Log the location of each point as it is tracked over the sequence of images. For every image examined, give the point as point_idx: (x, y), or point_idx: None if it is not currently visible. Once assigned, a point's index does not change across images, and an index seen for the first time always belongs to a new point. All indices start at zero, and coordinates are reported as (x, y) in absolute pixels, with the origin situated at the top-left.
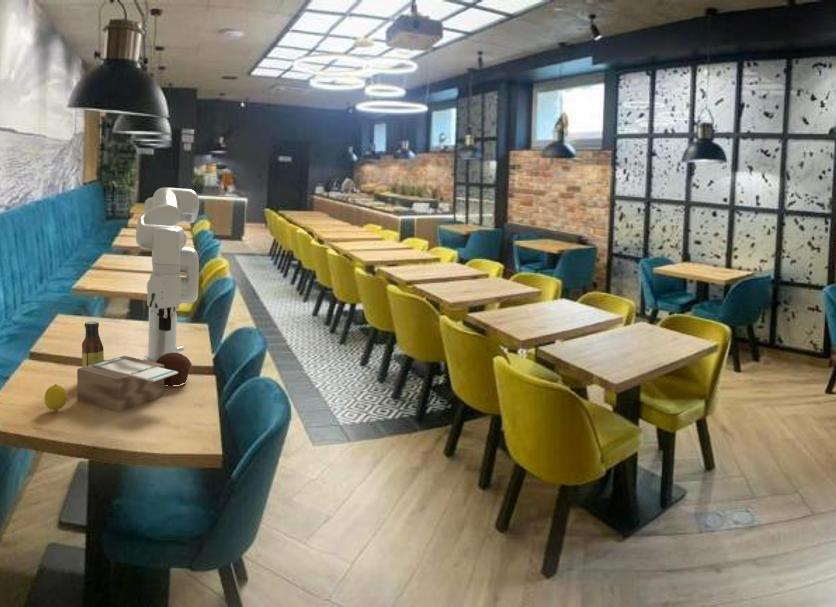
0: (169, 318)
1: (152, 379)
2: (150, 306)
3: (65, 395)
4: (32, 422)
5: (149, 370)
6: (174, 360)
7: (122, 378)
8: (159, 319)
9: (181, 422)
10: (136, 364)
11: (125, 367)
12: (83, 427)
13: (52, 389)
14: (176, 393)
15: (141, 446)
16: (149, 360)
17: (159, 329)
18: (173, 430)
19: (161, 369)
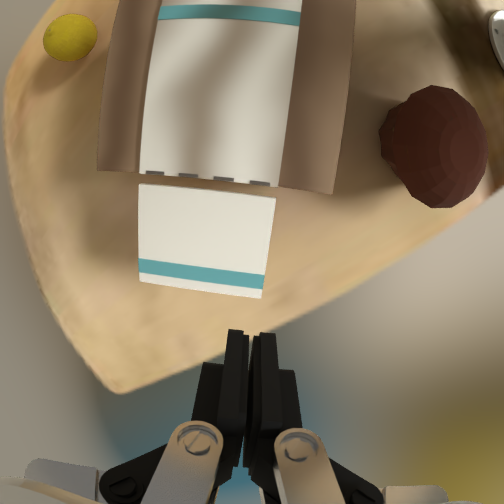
0: (247, 467)
1: (141, 274)
2: (41, 493)
3: (69, 54)
4: (35, 69)
5: (216, 203)
6: (428, 172)
7: (109, 170)
8: (193, 414)
9: (171, 314)
10: (259, 106)
11: (198, 98)
12: (52, 164)
13: (43, 40)
14: (341, 198)
15: (61, 306)
16: (495, 27)
17: (228, 333)
18: (132, 319)
19: (253, 234)
